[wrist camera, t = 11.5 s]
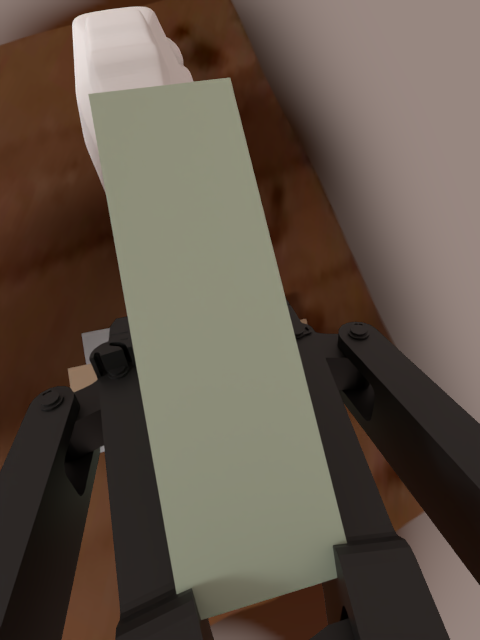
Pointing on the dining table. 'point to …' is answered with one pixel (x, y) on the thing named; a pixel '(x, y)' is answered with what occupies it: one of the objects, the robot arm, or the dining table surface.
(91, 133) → the white ridged rounded piece
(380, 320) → the dining table surface
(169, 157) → the green plank
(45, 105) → the dining table surface
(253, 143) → the dining table surface
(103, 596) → the dining table surface
